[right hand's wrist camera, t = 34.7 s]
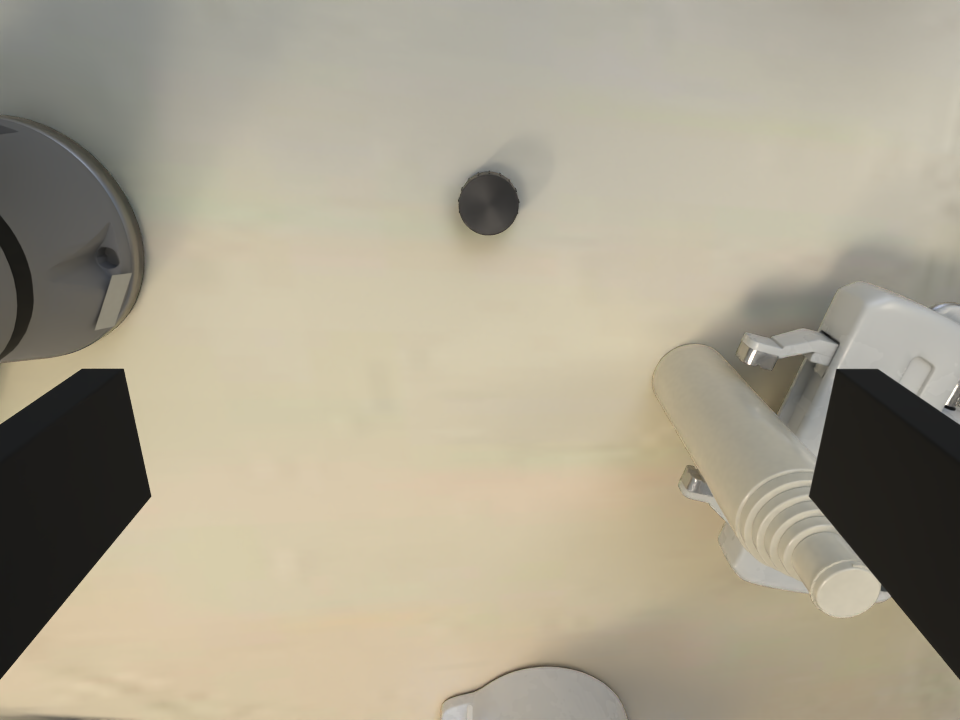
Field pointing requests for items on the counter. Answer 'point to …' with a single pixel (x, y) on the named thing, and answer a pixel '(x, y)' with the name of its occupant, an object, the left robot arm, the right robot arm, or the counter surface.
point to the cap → (488, 203)
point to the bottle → (760, 478)
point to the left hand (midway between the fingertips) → (712, 416)
